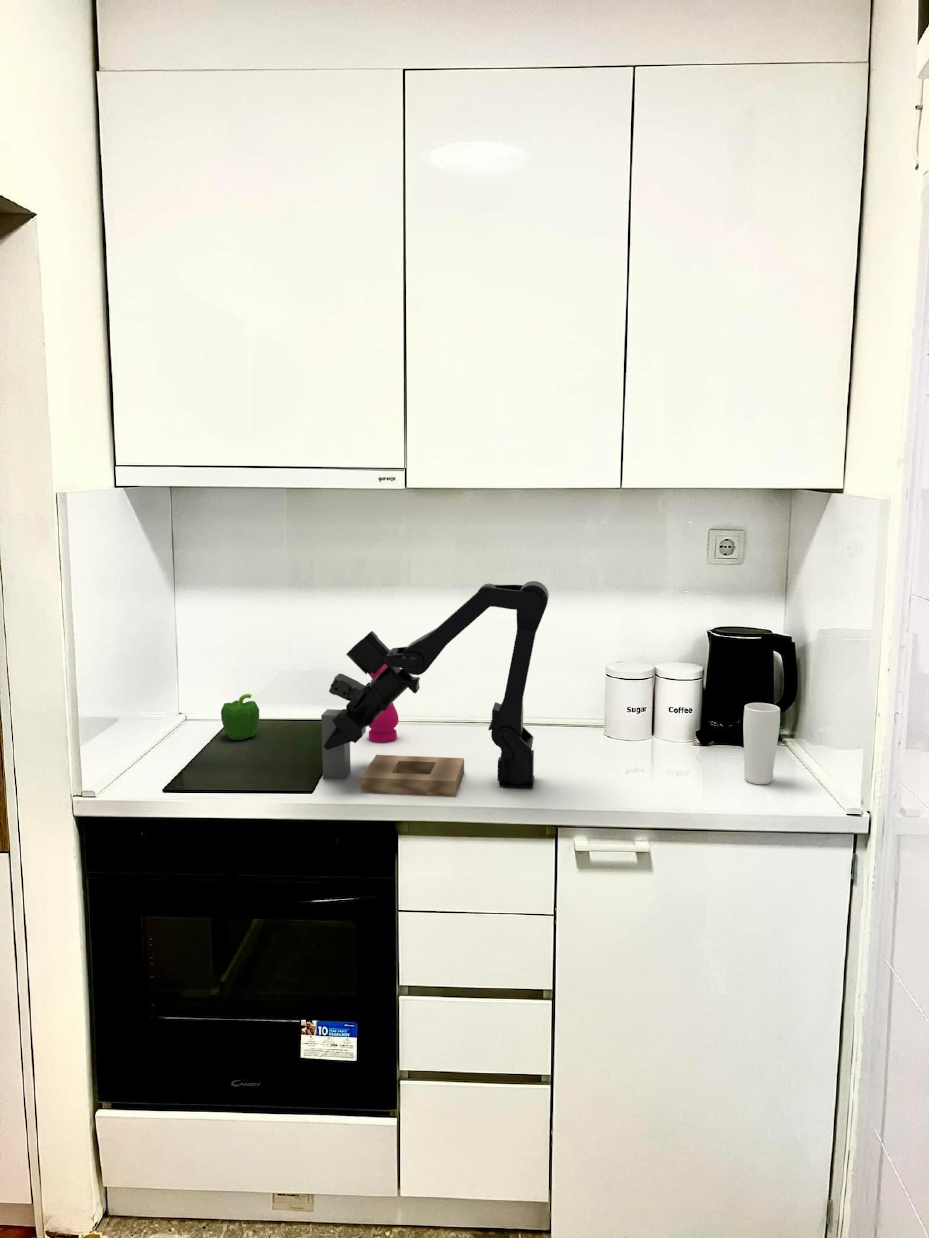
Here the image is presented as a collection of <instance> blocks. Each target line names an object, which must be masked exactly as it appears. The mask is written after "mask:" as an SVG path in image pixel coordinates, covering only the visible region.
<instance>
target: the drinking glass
mask: <svg viewBox="0 0 929 1238" xmlns="http://www.w3.org/2000/svg"><path fill="white" fill-rule="evenodd" d="M742 719H743V723H742V725H743V726H742V728H743V730H742V732H743V733H742V734H743V752H744V753H743V754H744V755H743V756H744V757H743V759H744V772H743V773H744V776H743V777H744V780H745V781H746V782H748V783H751V784H754V785H768V784H771V783H772V782H773V778H774V768H775V760H776V754H777V747H778V742H779V741H778V739H779V733H780V725H781V708H780V707H779V706H777V705H776V704H771V703H765V702H750V703H747V704H745V705H744V709H743V718H742Z"/></svg>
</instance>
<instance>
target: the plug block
mask: <svg viewBox="0 0 929 1238" xmlns="http://www.w3.org/2000/svg"><path fill="white" fill-rule="evenodd" d="M341 710H342V709H330V708H329V709H328V708H327V709H326V710H325V711H324V712H323V713H321V715H320V717H321V718H320V719H321V751H322V752H321V754H322V757H321V759H322V760H321V762H322V780H339V781H345V780H347V778H348V777H349V775H351V742H349V743H346V744H343V745H340V746H337V747H335V748H332V749H329V750H326V749H325V748H324V744H325V743H326V741H327V740H328V738H329V737H330V735H331V734H332V732H333V731H334V729H335V728H336V725H335V724H334V723H333V721H332V720H333V719H334V717H335V716H336V715H337V714H338V713H339V712H340V711H341Z"/></svg>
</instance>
